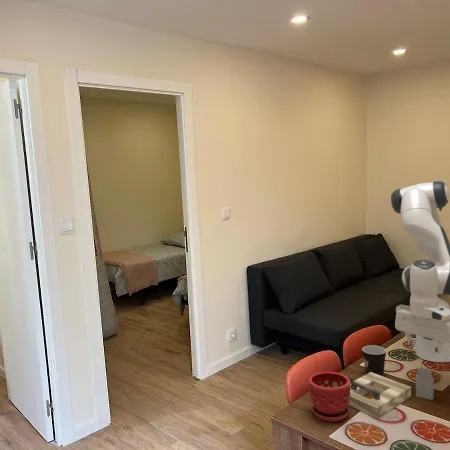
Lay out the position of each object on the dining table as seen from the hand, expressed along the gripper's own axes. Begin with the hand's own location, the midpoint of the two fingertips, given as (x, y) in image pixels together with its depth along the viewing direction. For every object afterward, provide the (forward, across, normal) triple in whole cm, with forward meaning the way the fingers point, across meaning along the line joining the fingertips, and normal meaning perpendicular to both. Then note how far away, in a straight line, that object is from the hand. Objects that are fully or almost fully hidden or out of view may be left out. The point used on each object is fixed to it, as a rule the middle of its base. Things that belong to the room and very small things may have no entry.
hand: (424, 348), depth 153 cm
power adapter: (+18, 0, 0) cm, 18 cm away
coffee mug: (+17, -22, +3) cm, 28 cm away
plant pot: (+18, -15, -32) cm, 39 cm away
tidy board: (+17, -11, -13) cm, 24 cm away
